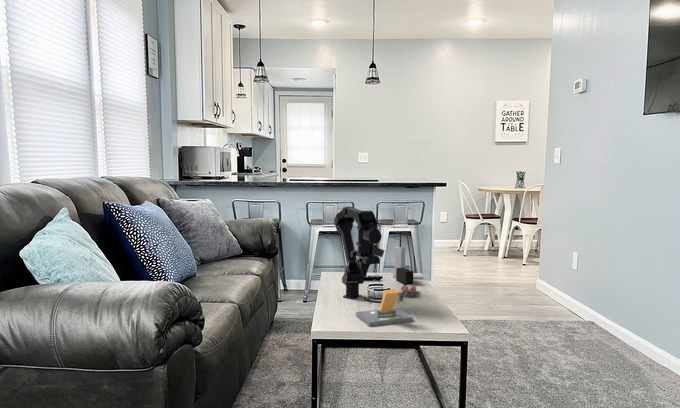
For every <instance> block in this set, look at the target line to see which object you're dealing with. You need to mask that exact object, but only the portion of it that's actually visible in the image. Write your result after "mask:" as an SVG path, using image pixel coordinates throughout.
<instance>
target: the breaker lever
mask: <svg viewBox="0 0 680 408" xmlns="http://www.w3.org/2000/svg"><path fill="white" fill-rule="evenodd" d="M398 290H399V289H396V288H392V289H384V290H383V292H382V299H381V303H380V307H379V309H380V310H379V315H387V314H393V307H395V304H396V301H397V298H398V294H399V292H398Z"/></svg>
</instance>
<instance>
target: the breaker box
mask: <svg viewBox="0 0 680 408" xmlns="http://www.w3.org/2000/svg"><path fill="white" fill-rule="evenodd" d="M379 310H380V308H377V307H375V308H374V309H371V310H363V311H362V310H361V311H356V312H355V316H356V317H357V318H358V319H359V320H360V321H361V322H363V323H364V324H365V325H366V326H367V327H377V326H385V325H394V324H400V323H401V324H402V323H409V322H410V323H411V322H413V321H414V317H413V316H411V315H409V313H407V312H405V311H403V310H401V309H399V308H398V307H396V306H394V307H393V314H387V315H379Z"/></svg>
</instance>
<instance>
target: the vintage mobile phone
mask: <svg viewBox="0 0 680 408" xmlns="http://www.w3.org/2000/svg"><path fill="white" fill-rule="evenodd" d="M393 257H394V273H393V275H392V278H394V279H396V269H397V268H403V267H404V268H406V247H405V246H402V231H399V246H398V245H396V246H393Z"/></svg>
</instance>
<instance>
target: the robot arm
mask: <svg viewBox="0 0 680 408" xmlns="http://www.w3.org/2000/svg"><path fill="white" fill-rule="evenodd" d="M354 223H356V224H357V226H356V229H357V230H358V231H357V242H356V243H355V244H356V246H357V249H355V245H354V240H353V235H352V229H353V227H354ZM378 223H379V222H378V220H377V218H376V216H375V213H374V211H373V210H361V209H358V208H355V207H354V206H343V207H342V210H339V212H337V214H336V215H335V217H334V220H333V225H334V226H335V230H336V231H337V232H338V233H339V234H340V237H341V241H342V242H341V243H342V246H343V251H344V257H345V262H346V264H345V268H344V273H343V275H342V277H341V283H342V284H343V285H345V294H344V295H343V296H342V298H347V299H351V300H357V299H359V298H360V297H362V296H363V294H360V284H361V285H362V284H364V281H365V278H366V277H367V274H368V271H369V268H370V266H371V265H378V264H381V258H383V256H384V253H385V250H384V249H382V248H379V245H378V243H380V242H381V241H382V234H381V231H380V230H378V227H379V226H378Z"/></svg>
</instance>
